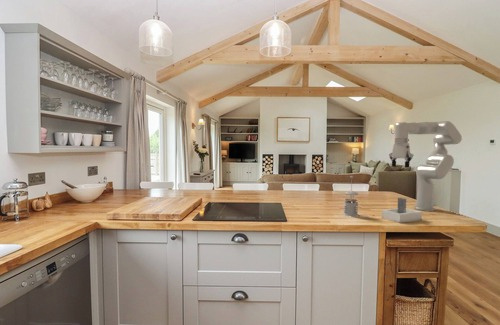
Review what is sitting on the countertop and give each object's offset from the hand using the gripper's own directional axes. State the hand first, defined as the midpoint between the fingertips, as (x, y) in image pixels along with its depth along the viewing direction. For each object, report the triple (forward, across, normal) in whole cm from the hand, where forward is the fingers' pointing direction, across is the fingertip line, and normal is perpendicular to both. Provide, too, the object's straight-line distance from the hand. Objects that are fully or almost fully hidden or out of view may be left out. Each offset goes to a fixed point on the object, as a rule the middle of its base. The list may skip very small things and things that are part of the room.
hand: (400, 167), depth 174 cm
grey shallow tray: (+30, -14, +15) cm, 37 cm away
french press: (+31, +5, +36) cm, 47 cm away
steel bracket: (+29, -14, +15) cm, 36 cm away
